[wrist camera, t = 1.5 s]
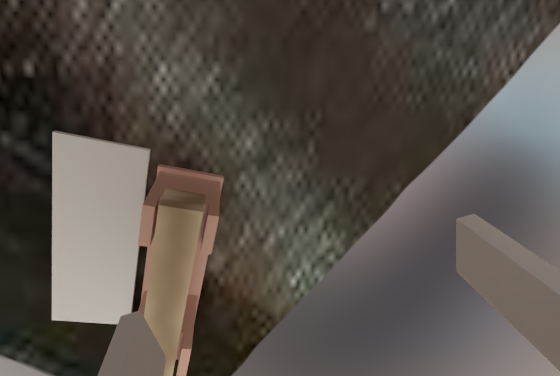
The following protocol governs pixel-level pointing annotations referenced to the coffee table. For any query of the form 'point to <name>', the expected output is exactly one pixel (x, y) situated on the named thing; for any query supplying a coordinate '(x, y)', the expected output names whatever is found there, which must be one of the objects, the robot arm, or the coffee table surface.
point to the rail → (172, 267)
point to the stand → (212, 189)
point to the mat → (95, 226)
